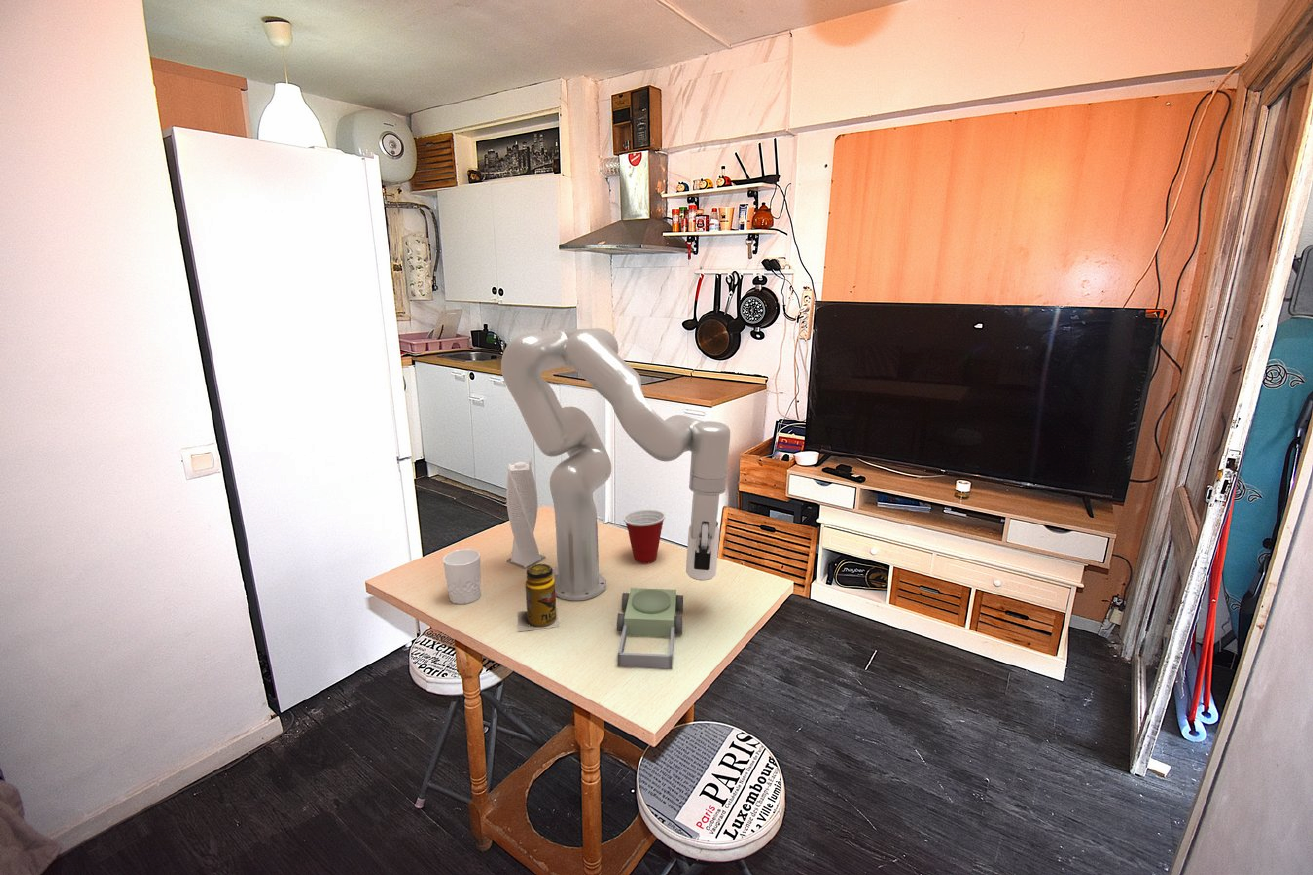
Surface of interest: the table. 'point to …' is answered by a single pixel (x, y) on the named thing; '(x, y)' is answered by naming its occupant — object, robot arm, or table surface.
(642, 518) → the plastic cup
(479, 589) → the white cup
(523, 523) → the skyscraper
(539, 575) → the condiment
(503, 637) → the table surface
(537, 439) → the robot arm
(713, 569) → the can
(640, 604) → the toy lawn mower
